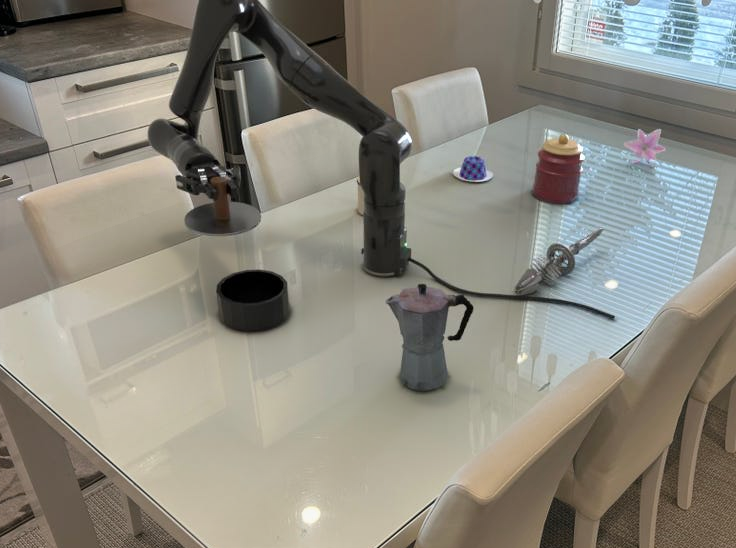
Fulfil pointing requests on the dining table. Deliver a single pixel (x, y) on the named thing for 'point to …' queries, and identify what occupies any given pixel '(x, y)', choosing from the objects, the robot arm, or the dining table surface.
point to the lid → (222, 214)
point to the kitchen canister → (558, 170)
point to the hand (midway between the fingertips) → (224, 194)
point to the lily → (646, 145)
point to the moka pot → (425, 333)
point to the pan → (253, 300)
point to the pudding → (473, 170)
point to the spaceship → (553, 264)
